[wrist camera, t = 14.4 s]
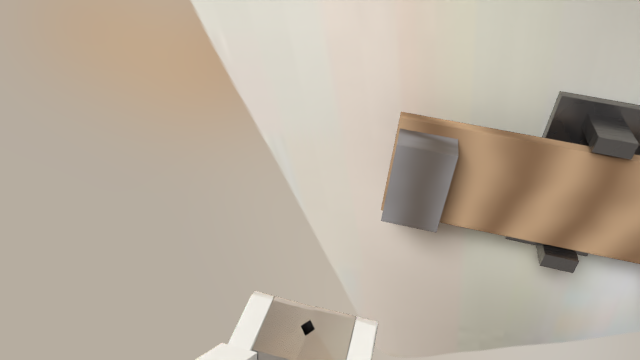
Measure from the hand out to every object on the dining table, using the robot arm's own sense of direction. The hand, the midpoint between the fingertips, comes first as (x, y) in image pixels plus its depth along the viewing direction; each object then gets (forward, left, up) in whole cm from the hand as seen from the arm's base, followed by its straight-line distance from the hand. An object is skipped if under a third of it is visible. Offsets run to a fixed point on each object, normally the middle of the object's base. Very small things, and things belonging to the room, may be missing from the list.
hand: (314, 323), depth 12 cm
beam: (-2, +23, -33) cm, 40 cm away
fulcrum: (-2, +23, -37) cm, 44 cm away
